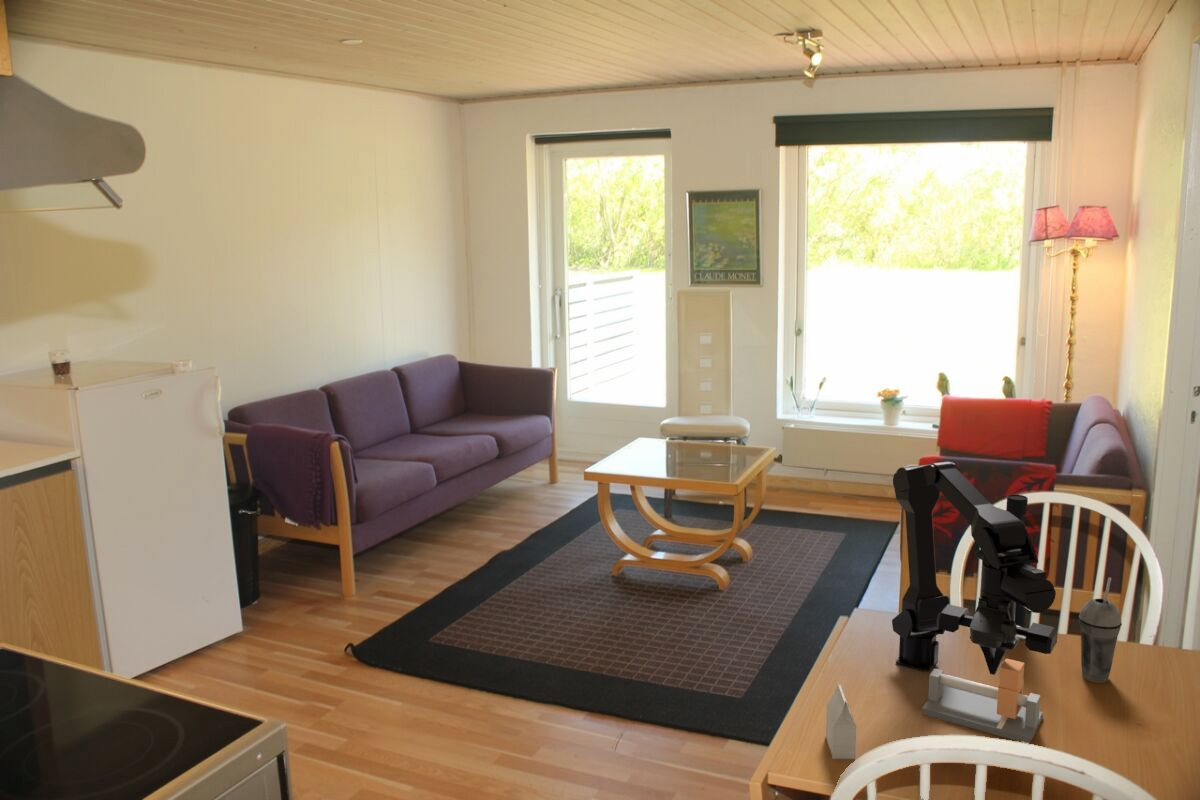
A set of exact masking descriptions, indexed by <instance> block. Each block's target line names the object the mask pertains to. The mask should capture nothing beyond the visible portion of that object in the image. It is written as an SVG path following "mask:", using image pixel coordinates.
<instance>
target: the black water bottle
mask: <svg viewBox="0 0 1200 800" xmlns="http://www.w3.org/2000/svg"><path fill="white" fill-rule="evenodd" d="M1028 500H1029V499H1028V497H1027V496H1026V495H1022V494H1013V493H1012V494H1009V495H1007V497H1006V508H1005V510H1006V511H1008V512H1010V513H1011V514H1013V515H1014V516H1015V517H1017V518H1018V519H1019V520H1021V521H1022V523H1023V524H1024V516H1025V515H1027V512H1028V502H1029V501H1028ZM1002 554H1004V555H1006V556H1007V555H1015V554H1022V552H1021V550H1020V551H1014V552H1007V553H1002ZM1027 610H1028V609H1026V608H1025V607H1023V606H1021V605H1019V604H1018V603H1016V605H1015V623H1016V625H1017V626H1021V627H1023V628H1026V627H1027V626H1026V625H1027ZM1020 641H1023V639H1020Z"/></svg>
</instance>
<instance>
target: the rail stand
mask: <svg viewBox="0 0 1200 800" xmlns="http://www.w3.org/2000/svg"><path fill="white" fill-rule="evenodd" d="M997 701H998V687H996V686H992V685H987V684H984V683H980V682H977V681H972V680H969V679H966V678H962V677H958V676H957V677H956V676H954V675H949V674H945V673H944V670H942V669H938V668H934V669H932V671H931V672H930V674H929V680H928V699H927V701H926V702H925V703H924V705H923V706H922V707H921V714H922V715H925V716H927V717H928V716H929V717H931V718H936V719H939V720H941V721H946V722H949V723H953V724H956V725H960V726H963V727H967V728H970V729H974V730H977V731H981V732H985V733H987V734H991V735H994V736H995V735H996V736H998V737H1002V738H1005V739H1009V740H1012V741H1016V740H1017V741H1016V742H1019V741H1024V742H1028V743H1030V744H1031V742H1032V740H1033V739H1034V736H1035V734H1036V733H1037V731H1038V728H1039V726H1040V724H1041V722H1042V720H1043V716H1044V712H1043V711H1041V710H1040V707H1041V695H1040V694H1037V693H1033V692H1030V693H1029V694H1024V693H1023V694H1020V693H1019V694H1018V701H1017V705H1019V706H1022V707H1021V709H1020V711H1019V713H1018V714H1017V716H1016V718H1015V719H1013V718H1009V717H1005V716H1002V715H998V714H997Z"/></svg>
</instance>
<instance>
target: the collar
mask: <svg viewBox="0 0 1200 800" xmlns="http://www.w3.org/2000/svg"><path fill="white" fill-rule="evenodd" d="M999 667H1000V669H999V680H998V681H999V683H998V687H997V688H998V701H997V714H998V715H1002V716H1005V717H1009V718H1013V719H1015V718H1016V716H1017V714H1018V713H1019V711H1020V709H1021V707H1022V706H1019V705H1017V701H1018V694H1019V693H1020V694H1024V673H1025V662H1023V661H1018V660H1015V659H1014V660H1013V659H1010V658H1005V660H1004V661H1003V663H1002V665H1001V666H999Z"/></svg>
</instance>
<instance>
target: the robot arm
mask: <svg viewBox="0 0 1200 800" xmlns="http://www.w3.org/2000/svg"><path fill="white" fill-rule="evenodd" d="M892 485H893V488H894V495H895V499H896V500H897V502H898V503H899V505H900V506H901V508H902V509H903V510H904V513H905V528H906V543H907V544H906V547H907V559H908V560H907V561H908V577H909V586H908V587H907V590H906V591H905V593H904V595H903V597H902V599H901V601H902V602H901V612H899V613H898V614H897V615H896V616H895V617H894V618H893V619H892V620H891V625H892V630H893V632H894V633H895V634H897V635H898V636H899V646H898V657H897V659H895V664H897V665H900V666H903V667H908V668H913V669H917V670H919V671H920V670H921V671H924V672H929V671H930V670H932V668H933V666H935V665H936V664H937V662H938V661H939V648H940V647H939V644H940V642H939V641H938V640H937V636H938V635H944V634H945V632H950V633H953V634H954V633H955V632H956V631H958V630H959V629H960V626H961V627H966V628H969V632H970V633H969V635H970V636H969V640H970V641H971V643H973V644H975V645H978V646H979V647H980V649H981V651H982V654H983V657H984V661H985V662H986V666H987V669H988V672H989V674H990V675H993V676H995V675H996V673H997V672H998V669H999V667H1000V665H1001V663H1002V661H1003V659H1004V657H1005V654H1006V653H1007V650H1010V651H1011V650H1012V651H1014V650H1015V648H1016V646H1017V645H1018V644H1019V642H1020V641H1021V640H1020V639H1023V640H1024V641H1025V643H1024V645H1025V647H1026V648H1027V649H1028V650H1029V651H1032V652H1035V653H1040V654H1043V655H1044V654H1045V655H1049V654H1052V652H1053V650H1054V648H1055V647H1056V644H1057V643H1058V636H1059V635H1058V631H1057V629H1056V627H1054V626H1051V625H1047V624H1042V623H1036V622H1032V623H1031V625H1030V627H1029V628H1023V627H1021V626H1017V625H1016V623H1015V605H1016V603H1018V604H1019V605H1021V606H1023V607H1025V608H1026V609H1027V610H1028V611H1030V612H1032V613H1035V614H1041V613H1043V612H1046V611H1047V610H1049V609H1050V608H1051V607H1052V605H1053V604H1054V602H1055V599H1056V593H1057V592H1056V589H1055V586H1054V584H1053V583H1052V581H1051V580H1048V579H1047V572H1046V571H1044V570H1042V569H1039V568H1036V567H1034V566H1032V565H1035V564H1038V563H1039V560H1038V556H1037V554H1036V553H1037V550H1036V549H1035V547H1034V545H1033V543H1032V540H1031V538H1030V535H1029V533H1028V530H1027V527H1026V526H1025V524H1024V522H1023V523H1022V521H1021V520H1019V519H1018V518H1017V517H1015V516H1014V515H1013V514H1011V513H1010V512H1008V511H1006V509H1003V508H999V507H996V506H995V505H993V504H992V503H991V502H990V501H989V500H988V499H986V496H984V495H983V494H982V493H981V492H980V491H979V490H978V489H977V488H976V487H975V486H974V484H972V483H971V482H970V481H969V480H968V479H967V477H965V476H964V475H963V474H962V473H961V472H960V471H959V468H958V465H957V464H956V463H954V462H952V461H941V462H940V461H939V462H932V463H930V464H920V465H911V466H904V467H899V468H897V470H896V472H895V473H894V474H893V477H892ZM941 494H942V495H943V497H945V499H947V501H948V502H949V503H950V504H951V505H952V506H953V507H954V508H955V510H957V511H958V513H960V515H962V517H963V518H964V519H965V520H966V522H968V524H969V525H970V531H971V532H970V534H971V536H972V537H971V538H972V539H973V540H974V542H975V543H976V545H977V546H978V547H979V549H978V550H977V551H975V552H974V557H975V558H978V559H979V560H981V571H980V572H981V574H980V589H979V597H978V602H977V607H976V609H975V611H974V614H973V616H972V615H969V608H968V607H962V606H958V605H954V604H950V599H949V597H948V596H947V595H944V594H943V593H942V591H941V590H940V588H939V587H938V584H937V570H936V569H937V568H936V553H935V537H934V520H933V519H934V518H933V517H934V516H933V511H934V509H935V507H936V505H937V503H938V502H939V499H940V497H941ZM1020 550H1021V552H1022V554H1015V555H1007V556H1006V555H1004V554H1002V553H1007V552H1014V551H1020ZM1023 640H1022V641H1023Z"/></svg>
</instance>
